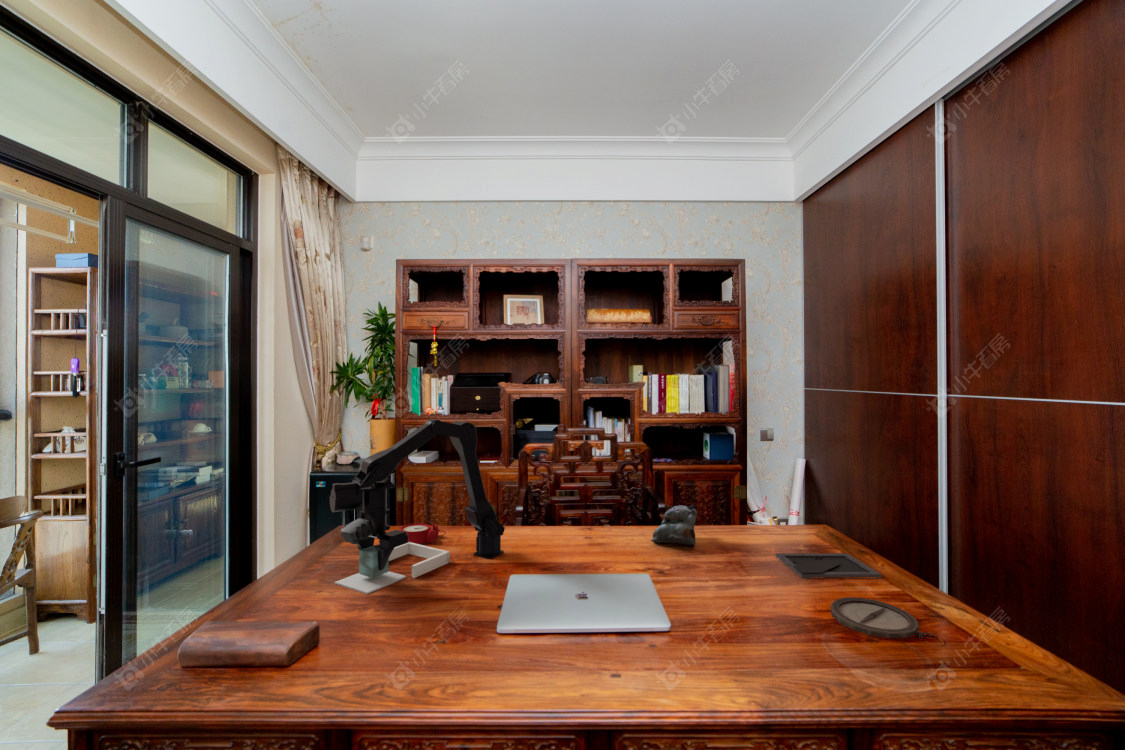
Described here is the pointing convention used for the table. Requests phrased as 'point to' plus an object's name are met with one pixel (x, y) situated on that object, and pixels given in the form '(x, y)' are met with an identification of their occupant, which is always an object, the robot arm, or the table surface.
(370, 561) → the teal block
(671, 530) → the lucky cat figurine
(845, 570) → the picture frame
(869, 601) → the compass
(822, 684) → the table surface
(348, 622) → the table surface
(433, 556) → the white u-shaped frame
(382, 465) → the robot arm
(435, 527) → the alarm clock
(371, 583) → the grey mat
